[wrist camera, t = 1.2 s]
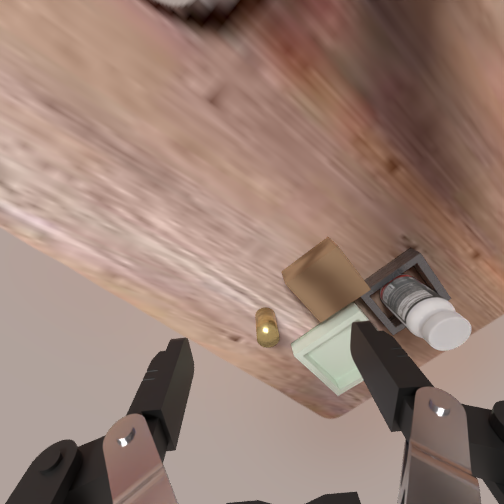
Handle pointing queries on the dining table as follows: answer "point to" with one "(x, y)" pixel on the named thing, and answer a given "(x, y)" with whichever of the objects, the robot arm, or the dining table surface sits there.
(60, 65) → the dining table surface
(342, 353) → the tray
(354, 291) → the walnut block
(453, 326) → the pill bottle
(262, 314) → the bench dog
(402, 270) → the collar
